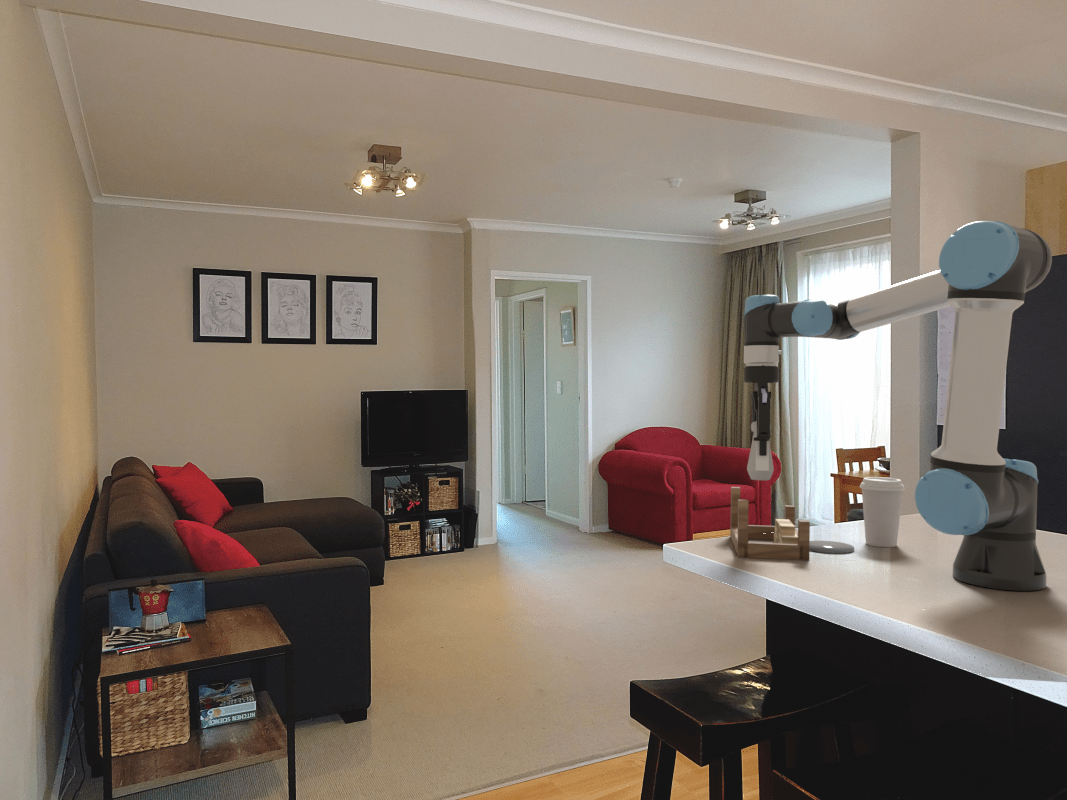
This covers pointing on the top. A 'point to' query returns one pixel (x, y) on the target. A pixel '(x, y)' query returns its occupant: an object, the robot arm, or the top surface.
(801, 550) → the rack
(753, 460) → the salt shaker
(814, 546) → the coaster
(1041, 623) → the top surface
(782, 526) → the offcut stack
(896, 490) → the coffee cup
